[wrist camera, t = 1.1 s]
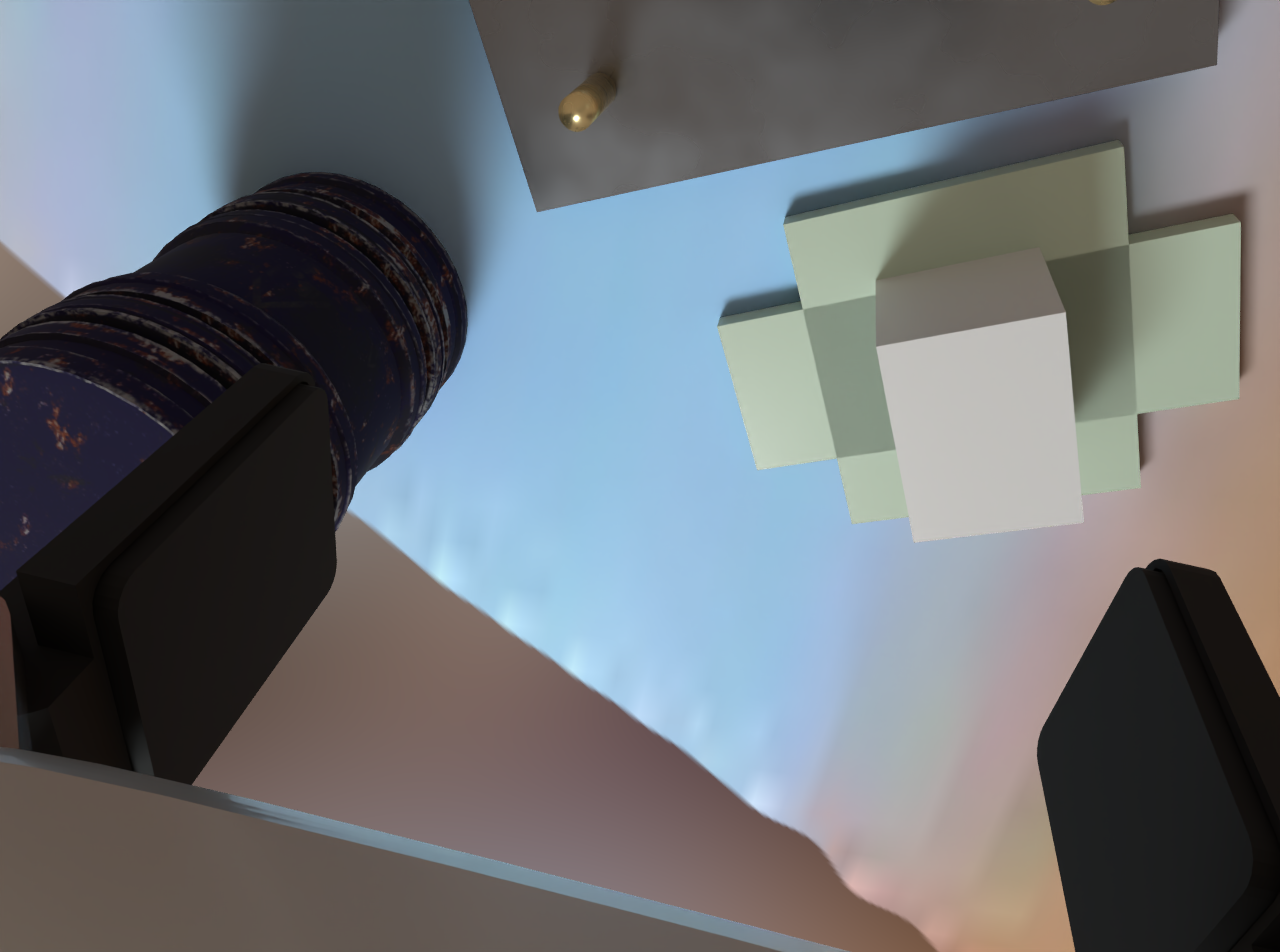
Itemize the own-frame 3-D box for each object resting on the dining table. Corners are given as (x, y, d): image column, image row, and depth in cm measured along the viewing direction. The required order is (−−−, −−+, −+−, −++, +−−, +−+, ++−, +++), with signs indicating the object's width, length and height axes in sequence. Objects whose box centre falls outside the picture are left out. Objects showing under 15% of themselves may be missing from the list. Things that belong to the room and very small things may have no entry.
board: (1228, 109, 28) (1308, 170, 23) (1227, 456, 34) (1290, 567, 29) (699, 233, 33) (668, 305, 28) (777, 516, 39) (763, 618, 34)
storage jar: (220, 362, 40) (-71, 598, 27) (227, 128, 34) (-136, 295, 22) (448, 445, 40) (260, 717, 27) (494, 225, 34) (282, 445, 22)
